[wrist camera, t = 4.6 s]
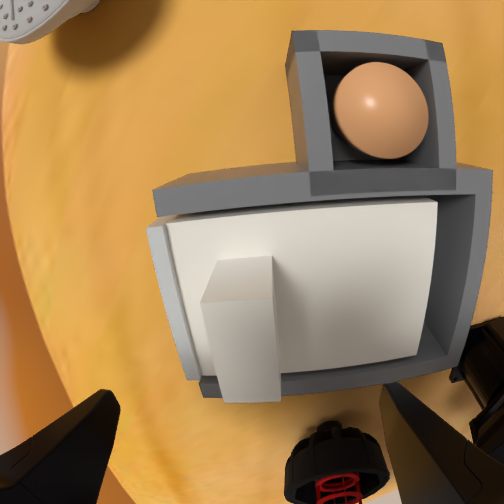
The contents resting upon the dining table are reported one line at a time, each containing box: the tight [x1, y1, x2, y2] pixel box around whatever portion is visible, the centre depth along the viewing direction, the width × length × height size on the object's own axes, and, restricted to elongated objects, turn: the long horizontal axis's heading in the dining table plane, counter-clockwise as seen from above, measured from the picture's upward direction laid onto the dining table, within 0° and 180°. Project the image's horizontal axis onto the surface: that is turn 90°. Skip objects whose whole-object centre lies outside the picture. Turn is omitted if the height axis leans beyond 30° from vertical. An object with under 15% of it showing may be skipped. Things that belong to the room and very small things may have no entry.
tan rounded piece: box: [330, 62, 428, 159], centre depth 12 cm, size 4×4×4 cm
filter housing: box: [152, 30, 493, 398], centre depth 15 cm, size 18×16×6 cm
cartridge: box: [146, 195, 438, 403], centre depth 14 cm, size 9×13×8 cm
